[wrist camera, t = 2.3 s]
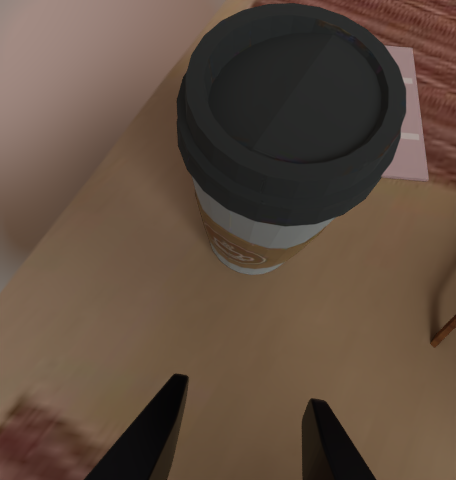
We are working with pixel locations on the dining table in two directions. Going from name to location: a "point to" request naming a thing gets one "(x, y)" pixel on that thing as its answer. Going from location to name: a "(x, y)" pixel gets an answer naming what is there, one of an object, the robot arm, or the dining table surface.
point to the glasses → (444, 332)
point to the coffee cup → (285, 128)
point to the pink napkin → (408, 125)
